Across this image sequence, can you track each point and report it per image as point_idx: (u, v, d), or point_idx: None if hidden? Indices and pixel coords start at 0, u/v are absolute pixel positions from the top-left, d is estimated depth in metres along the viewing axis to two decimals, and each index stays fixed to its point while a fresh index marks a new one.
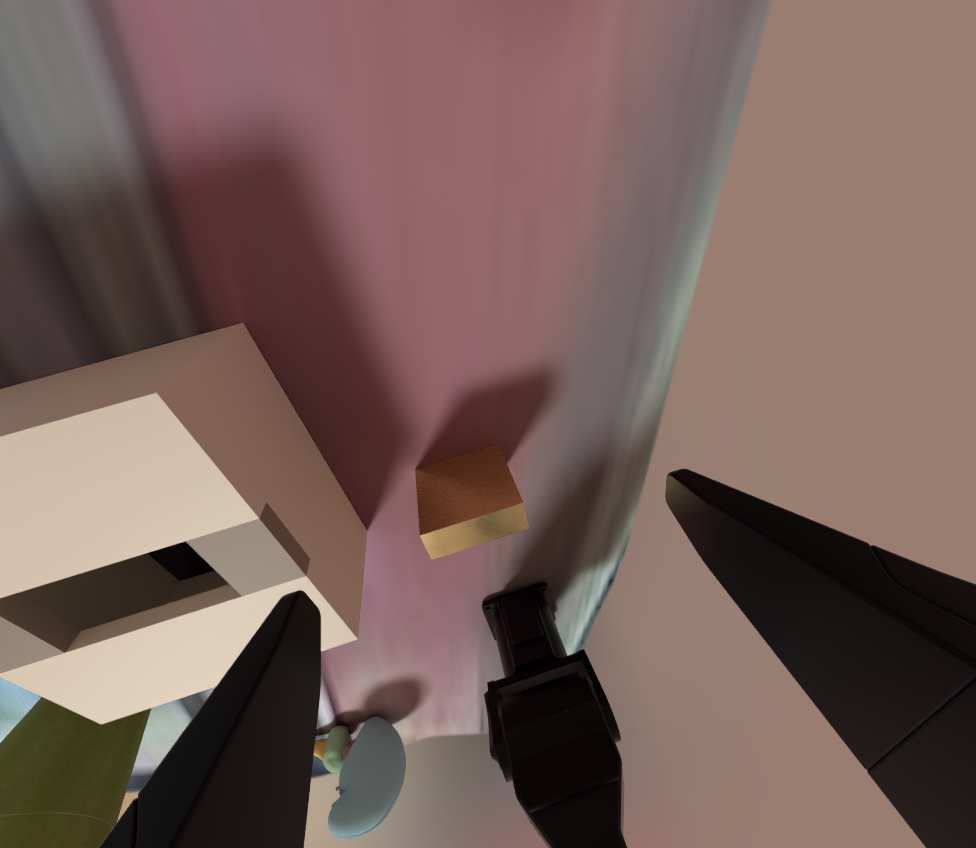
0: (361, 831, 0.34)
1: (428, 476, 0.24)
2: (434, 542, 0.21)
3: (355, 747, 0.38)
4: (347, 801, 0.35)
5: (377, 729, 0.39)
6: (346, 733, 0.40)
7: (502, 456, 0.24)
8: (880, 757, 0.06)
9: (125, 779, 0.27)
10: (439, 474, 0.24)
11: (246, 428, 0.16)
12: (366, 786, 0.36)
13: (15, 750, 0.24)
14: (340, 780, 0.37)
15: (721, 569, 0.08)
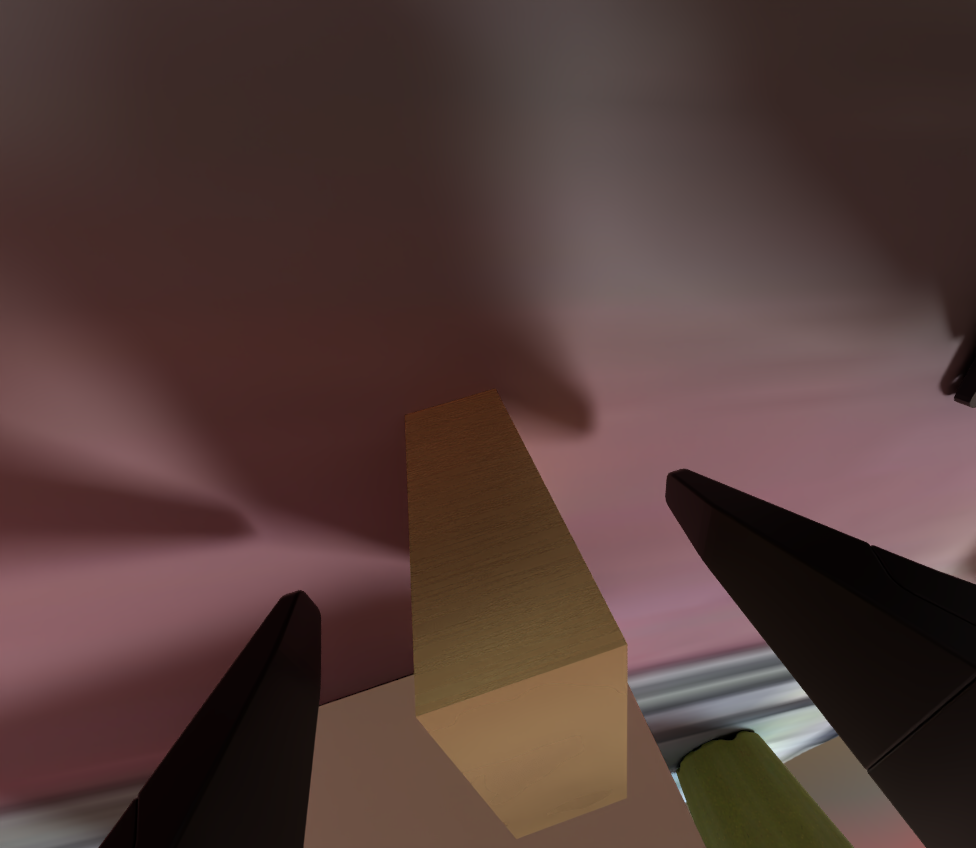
0: None
1: None
2: (556, 815, 0.07)
3: None
4: None
5: None
6: None
7: None
8: (879, 757, 0.06)
9: (818, 836, 0.23)
10: None
11: None
12: None
13: None
14: None
15: (721, 569, 0.08)
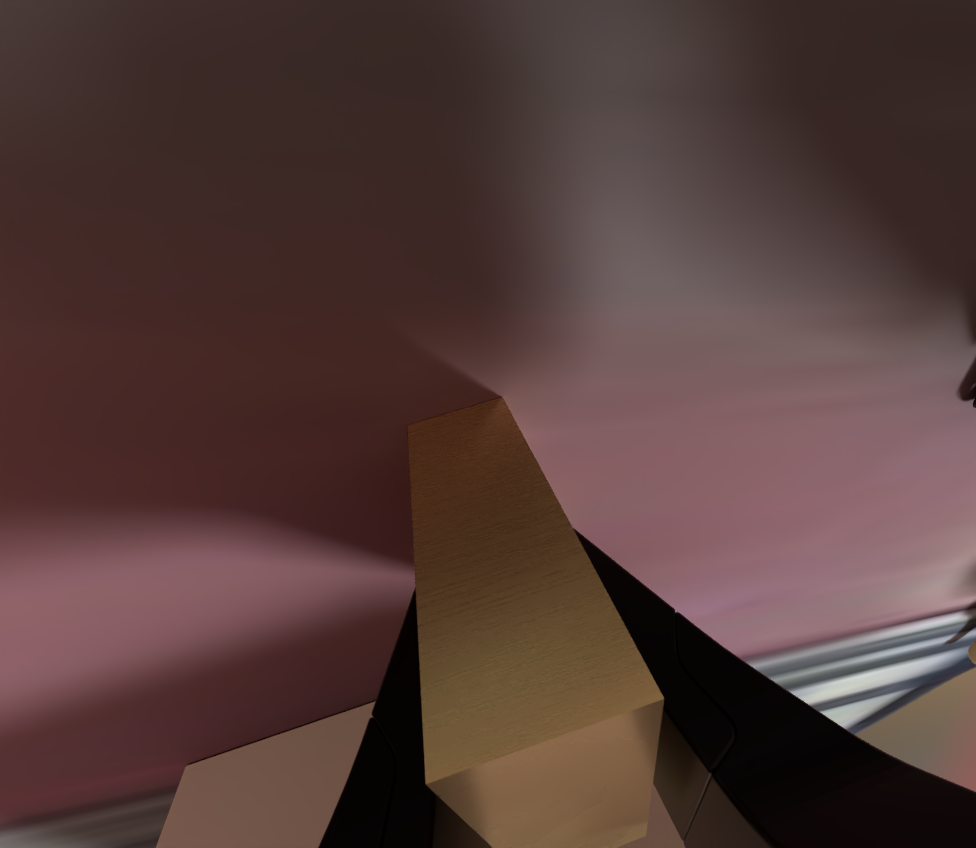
0: None
1: None
2: None
3: None
4: None
5: None
6: None
7: (411, 469, 0.07)
8: (685, 832, 0.06)
9: None
10: None
11: None
12: None
13: None
14: None
15: None
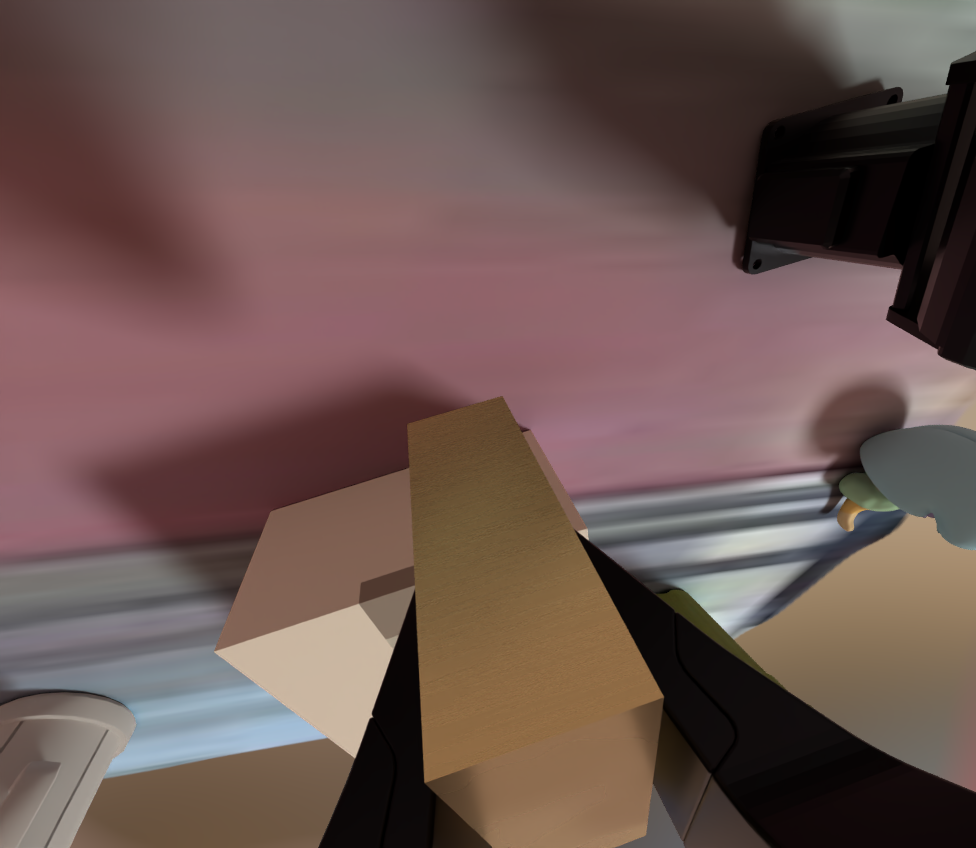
0: None
1: None
2: None
3: (877, 484, 0.28)
4: (944, 523, 0.25)
5: (878, 452, 0.28)
6: (858, 478, 0.31)
7: (410, 468, 0.07)
8: (685, 832, 0.06)
9: (719, 642, 0.30)
10: None
11: (309, 564, 0.18)
12: (942, 500, 0.25)
13: None
14: (909, 513, 0.27)
15: None
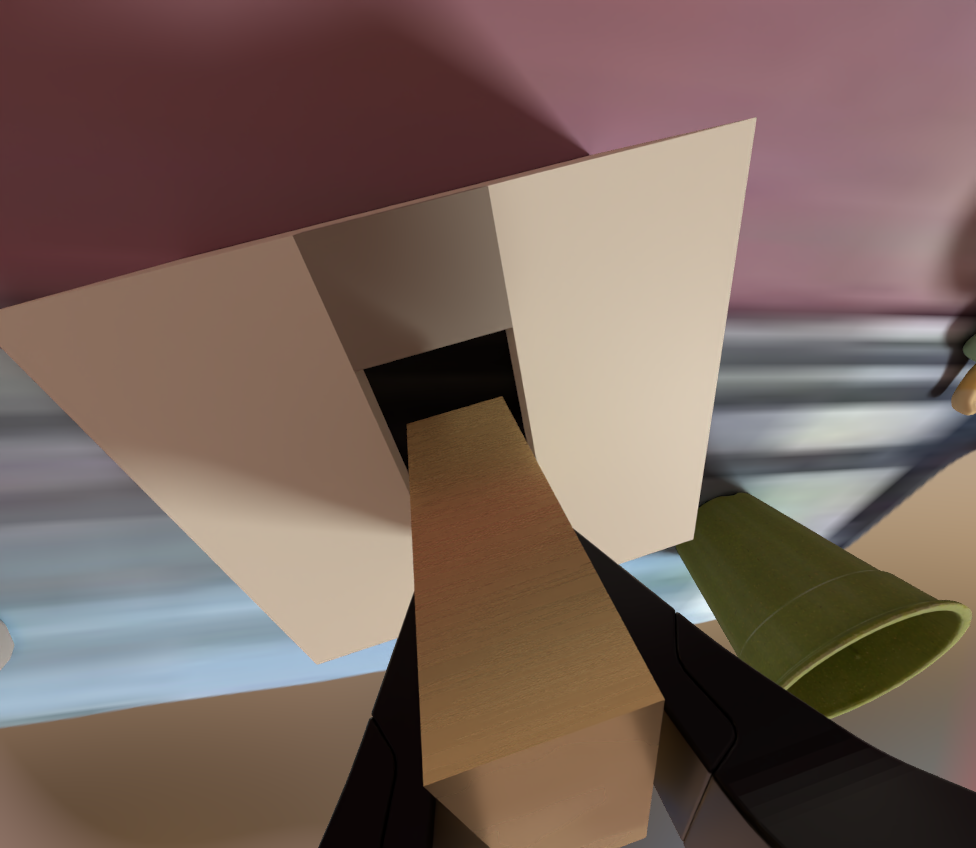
0: None
1: None
2: None
3: None
4: None
5: None
6: None
7: (410, 468, 0.07)
8: (684, 832, 0.06)
9: (819, 541, 0.23)
10: None
11: (216, 252, 0.10)
12: None
13: (709, 589, 0.25)
14: None
15: None
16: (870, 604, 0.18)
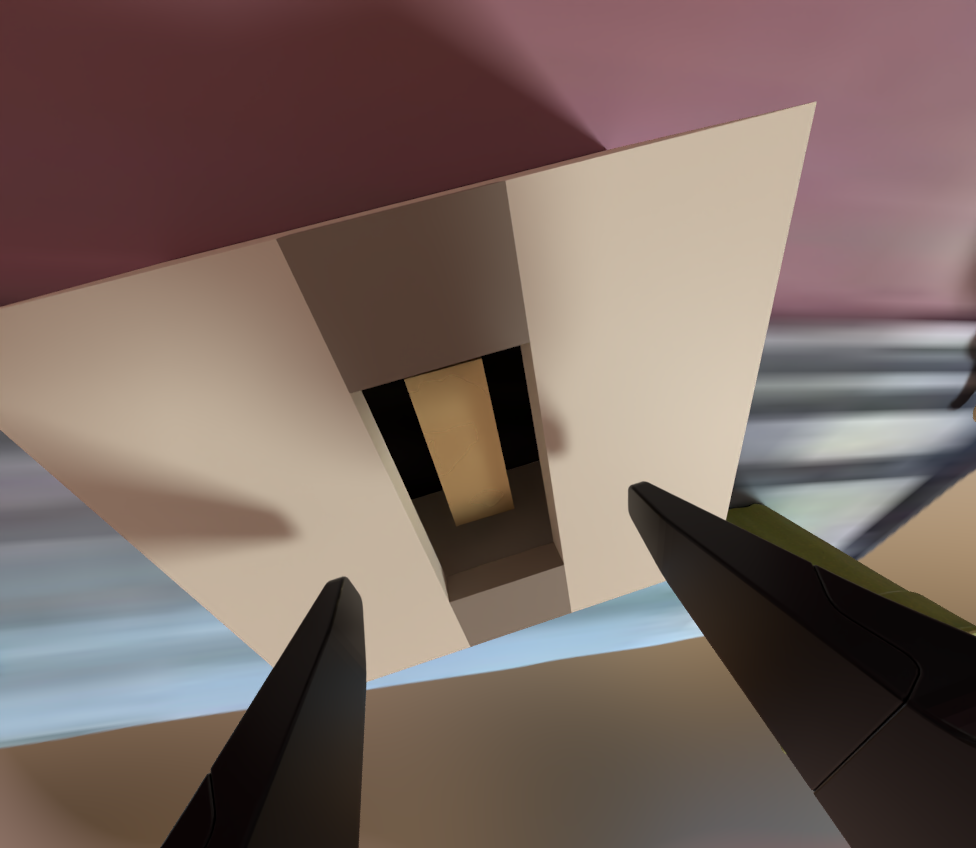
0: None
1: None
2: (475, 508, 0.13)
3: None
4: None
5: None
6: None
7: None
8: (823, 780, 0.06)
9: (841, 558, 0.21)
10: None
11: (195, 256, 0.08)
12: None
13: None
14: None
15: (677, 584, 0.08)
16: None
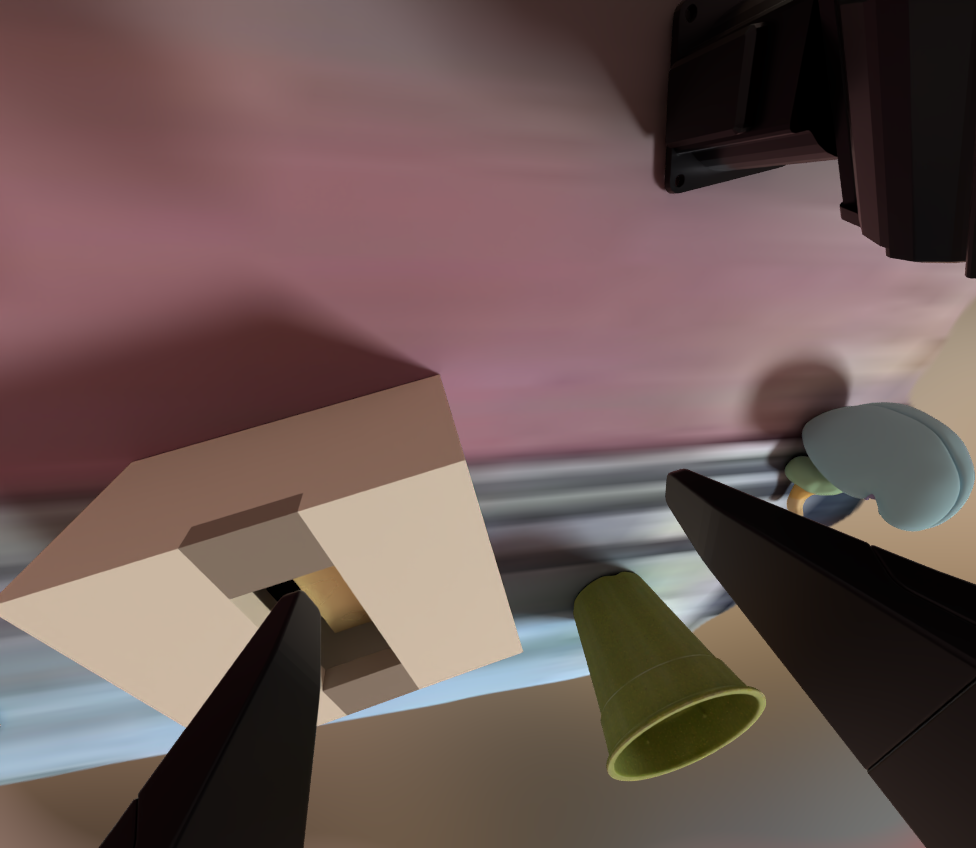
0: (947, 506, 0.22)
1: None
2: (346, 622, 0.19)
3: (818, 466, 0.27)
4: (882, 503, 0.24)
5: (817, 432, 0.27)
6: (802, 461, 0.30)
7: None
8: (880, 757, 0.06)
9: (666, 625, 0.28)
10: None
11: (144, 511, 0.15)
12: (878, 479, 0.24)
13: (587, 659, 0.30)
14: (850, 495, 0.26)
15: (721, 569, 0.08)
16: (679, 688, 0.24)
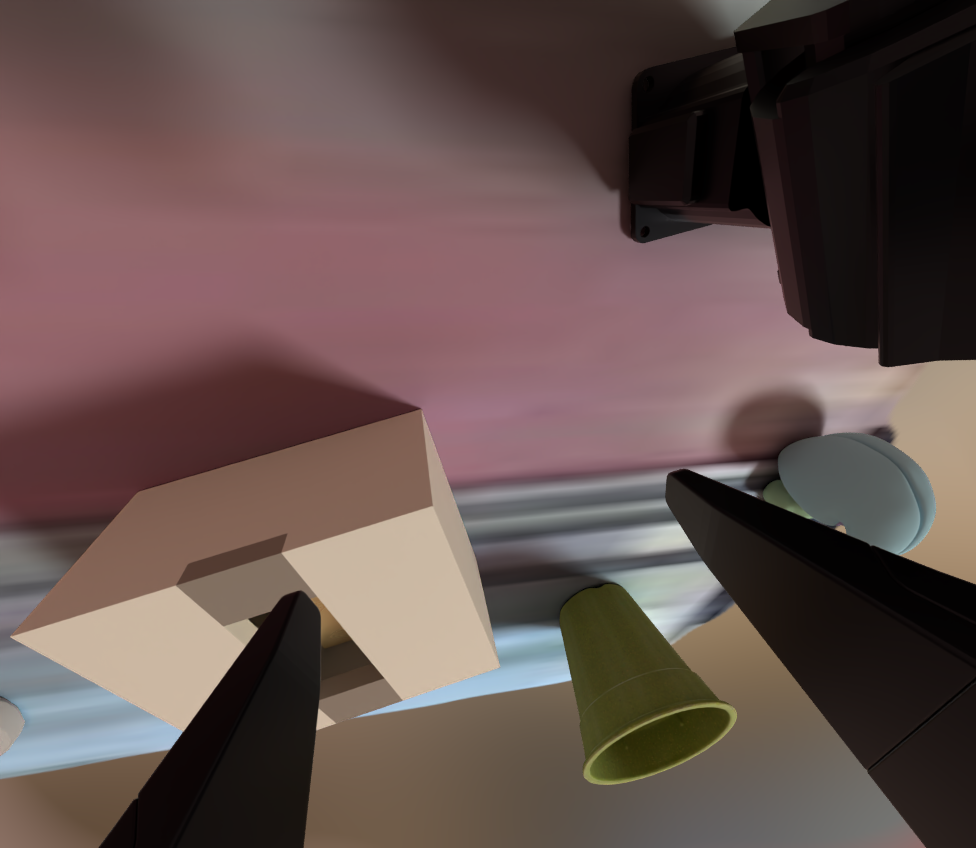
0: (908, 538, 0.23)
1: None
2: (335, 639, 0.21)
3: (790, 493, 0.28)
4: (849, 532, 0.25)
5: (790, 461, 0.28)
6: (779, 485, 0.31)
7: None
8: (880, 758, 0.06)
9: (643, 638, 0.29)
10: None
11: (147, 545, 0.16)
12: (844, 510, 0.25)
13: (570, 668, 0.31)
14: (821, 522, 0.27)
15: (721, 569, 0.08)
16: (650, 701, 0.25)
